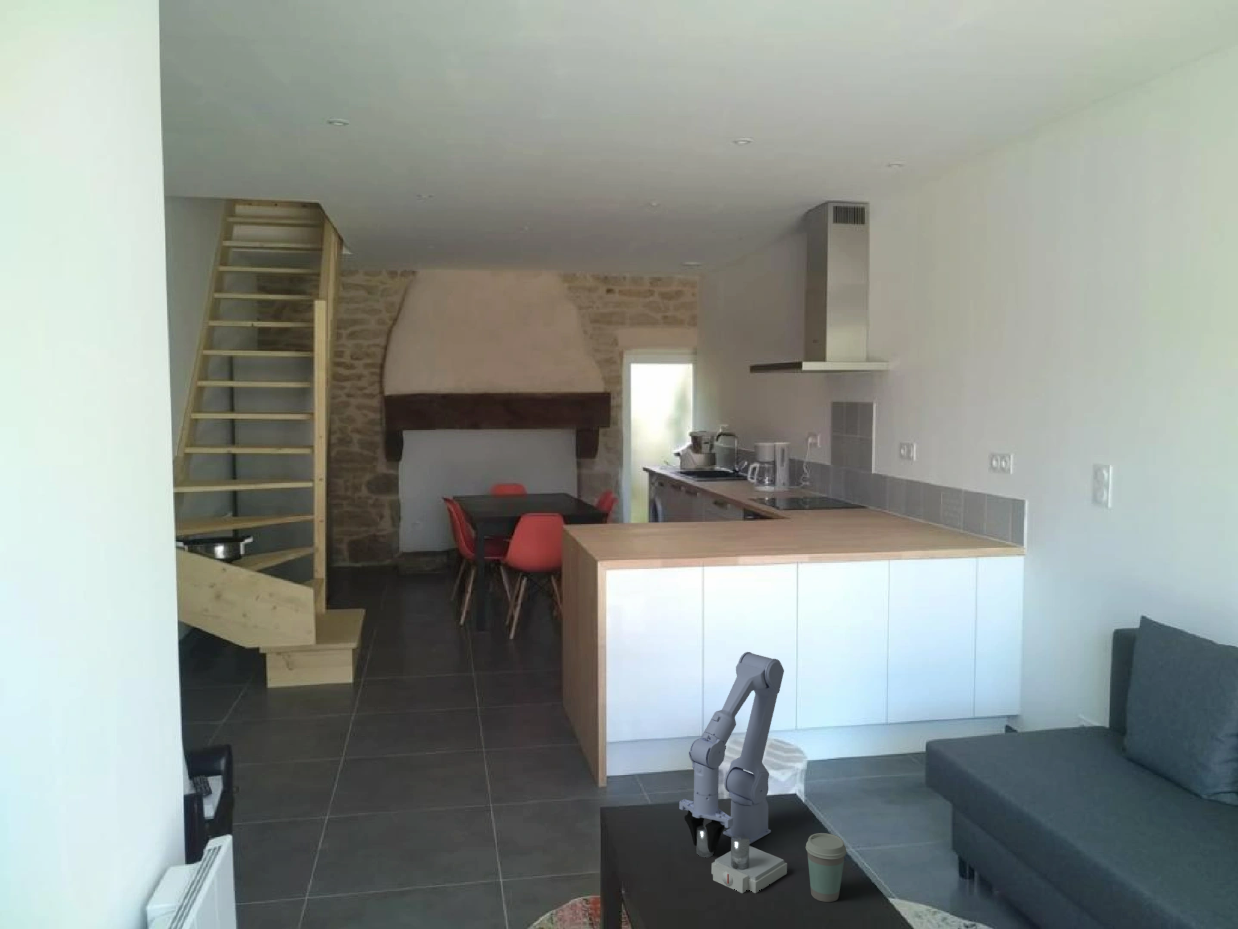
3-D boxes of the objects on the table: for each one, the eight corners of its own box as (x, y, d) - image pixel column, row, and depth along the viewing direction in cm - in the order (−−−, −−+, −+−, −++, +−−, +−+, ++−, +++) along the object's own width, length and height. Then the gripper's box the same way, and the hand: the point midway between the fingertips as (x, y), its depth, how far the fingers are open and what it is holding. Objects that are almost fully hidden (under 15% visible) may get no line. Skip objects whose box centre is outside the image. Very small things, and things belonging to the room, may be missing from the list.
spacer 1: (703, 847, 221) (704, 823, 221) (717, 853, 218) (717, 828, 218) (693, 853, 218) (693, 828, 218) (706, 859, 216) (706, 834, 215)
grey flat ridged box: (743, 855, 218) (743, 842, 217) (786, 873, 209) (787, 859, 209) (704, 877, 207) (705, 863, 207) (748, 897, 199) (749, 883, 199)
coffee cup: (847, 889, 203) (848, 835, 202) (843, 909, 195) (844, 853, 194) (807, 882, 206) (808, 829, 205) (801, 901, 198) (803, 846, 197)
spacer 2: (739, 859, 209) (739, 833, 209) (752, 866, 206) (753, 839, 206) (727, 865, 207) (727, 838, 206) (740, 871, 204) (741, 845, 203)
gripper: (671, 787, 220) (670, 843, 220) (720, 805, 210) (719, 864, 210) (690, 778, 225) (689, 833, 226) (739, 796, 215) (737, 853, 216)
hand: (705, 847), depth 218 cm, fingers closed on spacer 1, 4 cm apart
